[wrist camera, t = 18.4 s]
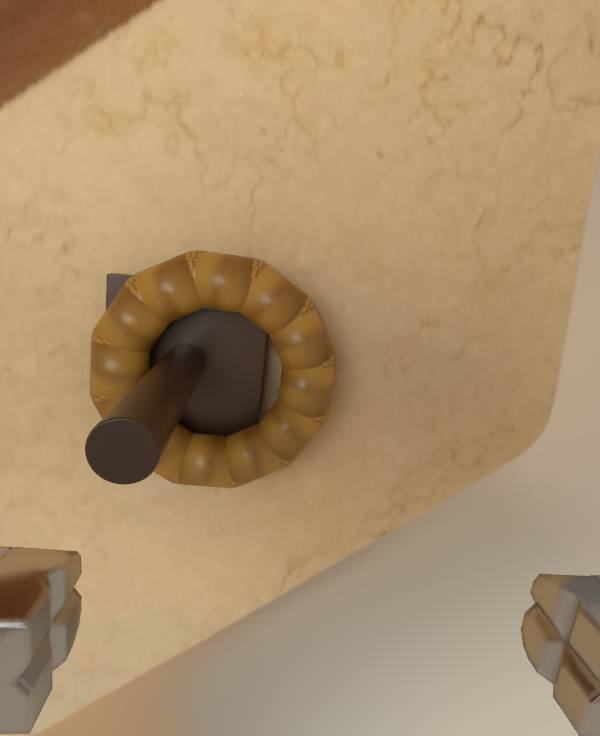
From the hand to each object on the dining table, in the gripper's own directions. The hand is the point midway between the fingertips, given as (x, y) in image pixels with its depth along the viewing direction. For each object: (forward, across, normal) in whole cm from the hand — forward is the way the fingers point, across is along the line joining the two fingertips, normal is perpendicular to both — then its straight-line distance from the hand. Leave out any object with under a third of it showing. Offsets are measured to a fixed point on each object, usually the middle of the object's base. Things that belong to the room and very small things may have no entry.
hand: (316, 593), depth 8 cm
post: (+17, +5, 0) cm, 18 cm away
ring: (+15, +3, 0) cm, 15 cm away
